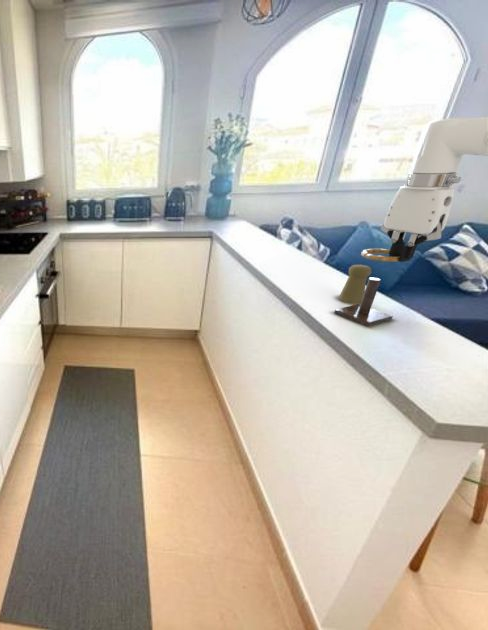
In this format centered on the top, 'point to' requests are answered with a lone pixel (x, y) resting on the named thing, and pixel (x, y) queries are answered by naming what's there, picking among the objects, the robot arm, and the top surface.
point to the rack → (365, 307)
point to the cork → (355, 284)
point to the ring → (379, 258)
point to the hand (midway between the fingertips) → (399, 259)
